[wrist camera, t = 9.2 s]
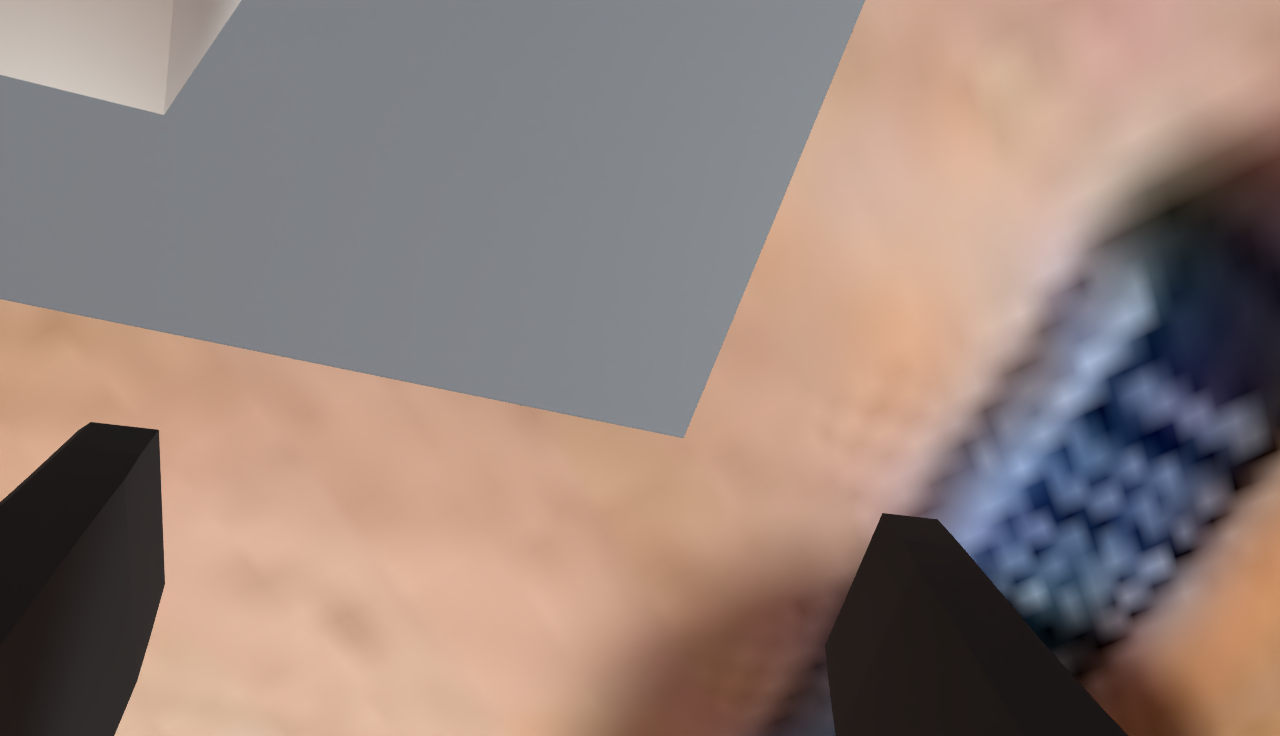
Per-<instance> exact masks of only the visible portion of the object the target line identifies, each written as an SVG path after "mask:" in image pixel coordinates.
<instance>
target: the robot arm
mask: <svg viewBox="0 0 1280 736" xmlns="http://www.w3.org/2000/svg"><path fill="white" fill-rule="evenodd" d="M164 585H165V574H164V549H163V524H162V499H161V474H160V448H159V430H154V429H146V428H137V427H128V426H120V425H111V424H102V423H94V422H90V423H89V424H87V425H86V426H84V427H83V428H81V429H80V430H78V431H77V432H76V433H75V434H74V435H73V436H72V437H71V438H70V439H69V440H68V441H66V442H65V443H64V444H63V445H62V446H61V447H60V448H59V449H58V450H57V451H56V452H55V453H54V454H53V455H51V456H50V457H49V458H48V459H47V460H46V461H45V462H44V463H43V464H42V465H41V466H40V467H39V468H37V469H36V470H35V471H34V472H33V473H32V474H31V475H30V476H29V477H28V478H27V479H26V480H24V481H23V482H22V483H21V484H20V485H19V486H18V487H17V488H16V489H15V490H13V491H12V492H11V493H10V494H9V495H8V496H7V497H6V498H4V499H3V500H2V501H1V502H0V736H114V735H115V732H116V730H117V728H118V725H119V723H120V720H121V718H122V716H123V713H124V711H125V709H126V706H127V704H128V701H129V699H130V697H131V694H132V692H133V689H134V687H135V684H136V682H137V679H138V676H139V672H140V669H141V666H142V662H143V659H144V656H145V652H146V649H147V646H148V642H149V639H150V635H151V632H152V628H153V625H154V621H155V617H156V614H157V610H158V607H159V603H160V599H161V596H162V592H163V589H164ZM825 648H826V657H827V667H828V677H829V686H830V696H831V703H832V711H833V718H834V726H835V733H836V736H1128V735H1127V734H1126V733H1125V732H1124V731H1123V730H1122V728H1121V727H1120V726H1119V725H1118V724H1117V723H1116V722H1115V721H1114V720H1113V719H1112V718H1111V717H1110V716H1109V715H1108V714H1107V713H1106V712H1105V711H1104V710H1103V709H1102V707H1101V706H1100V705H1099V704H1098V703H1097V702H1096V701H1095V700H1094V699H1093V698H1092V697H1091V696H1090V694H1089V693H1088V692H1087V691H1086V690H1085V689H1084V688H1083V687H1082V686H1081V685H1080V684H1079V682H1078V681H1077V680H1076V679H1075V678H1074V677H1073V676H1072V675H1071V673H1070V672H1069V671H1068V670H1067V669H1066V668H1065V667H1064V666H1063V664H1062V663H1061V662H1060V661H1059V660H1058V659H1057V658H1056V657H1055V655H1054V654H1053V653H1052V652H1051V651H1050V650H1049V649H1048V647H1047V646H1046V645H1045V644H1044V643H1043V642H1042V640H1041V639H1040V638H1039V637H1038V636H1037V635H1036V634H1035V632H1034V631H1033V630H1032V629H1031V628H1030V627H1029V625H1028V624H1027V623H1026V622H1025V621H1024V620H1023V618H1022V617H1021V616H1020V615H1019V614H1018V612H1017V611H1016V610H1015V609H1014V608H1013V607H1012V605H1011V604H1010V603H1009V602H1008V601H1007V599H1006V598H1005V597H1004V596H1003V595H1002V594H1001V592H1000V591H999V590H998V589H997V588H996V586H995V585H994V584H993V583H992V582H991V581H990V579H989V578H988V577H987V576H986V575H985V573H984V572H983V571H982V570H981V569H980V567H979V566H978V565H977V564H976V563H975V562H974V560H973V559H972V558H971V557H970V556H969V554H968V553H967V552H966V551H965V550H964V549H963V547H962V546H961V545H960V544H959V543H958V542H957V541H956V539H955V538H954V537H953V536H952V535H951V534H950V533H949V532H948V530H947V529H946V528H945V527H944V526H943V525H942V524H941V523H940V522H939V521H938V520H937V519H928V518H920V517H911V516H902V515H894V514H885V513H882V516H881V518H880V520H879V523H878V525H877V527H876V530H875V532H874V534H873V537H872V539H871V541H870V544H869V546H868V548H867V550H866V553H865V555H864V557H863V560H862V562H861V564H860V567H859V569H858V571H857V574H856V576H855V578H854V581H853V583H852V585H851V588H850V590H849V592H848V595H847V597H846V599H845V601H844V604H843V606H842V608H841V611H840V613H839V615H838V618H837V620H836V622H835V625H834V627H833V629H832V632H831V634H830V636H829V639H828V641H827V643H826V646H825Z"/></svg>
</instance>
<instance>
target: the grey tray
mask: <svg viewBox="0 0 1280 736" xmlns="http://www.w3.org/2000/svg"><path fill="white" fill-rule="evenodd" d="M864 2H865V0H241V2H240V3H239V5H238V6H237V8H236V9H235V11H234V12H233V13H232V15H231V16H230V18H229V19H228V21H227V22H226V24H225V25H224V27H223V28H222V30H221V31H220V33H219V34H218V36H217V37H216V39H215V40H214V42H213V43H212V45H211V46H210V47H209V49H208V50H207V52H206V53H205V55H204V56H203V58H202V59H201V61H200V62H199V64H198V65H197V67H196V68H195V70H194V71H193V73H192V74H191V76H190V77H189V79H188V80H187V81H186V83H185V84H184V86H183V87H182V89H181V90H180V92H179V93H178V95H177V96H176V98H175V99H174V101H173V102H172V104H171V105H170V107H169V108H168V110H167V111H166V113H165V114H164V115H162V114H158V113H154V112H150V111H146V110H142V109H137V108H133V107H129V106H125V105H121V104H117V103H113V102H109V101H105V100H101V99H97V98H93V97H89V96H85V95H80V94H76V93H72V92H68V91H64V90H60V89H56V88H52V87H48V86H44V85H40V84H36V83H32V82H28V81H23V80H19V79H15V78H11V77H7V76H3V75H0V299H3V300H8V301H12V302H17V303H22V304H27V305H32V306H37V307H42V308H47V309H52V310H57V311H62V312H66V313H71V314H76V315H81V316H86V317H91V318H96V319H101V320H106V321H111V322H116V323H120V324H125V325H130V326H135V327H140V328H145V329H150V330H155V331H160V332H165V333H170V334H174V335H179V336H184V337H189V338H194V339H199V340H204V341H209V342H214V343H219V344H224V345H228V346H233V347H238V348H243V349H248V350H253V351H258V352H263V353H268V354H273V355H278V356H282V357H287V358H292V359H297V360H302V361H307V362H312V363H317V364H322V365H327V366H332V367H336V368H341V369H346V370H351V371H356V372H361V373H366V374H371V375H376V376H381V377H386V378H390V379H395V380H400V381H405V382H410V383H415V384H420V385H425V386H430V387H435V388H440V389H444V390H449V391H454V392H459V393H464V394H469V395H474V396H479V397H484V398H489V399H494V400H499V401H503V402H508V403H513V404H518V405H523V406H528V407H533V408H538V409H543V410H548V411H553V412H557V413H562V414H567V415H572V416H577V417H582V418H587V419H592V420H597V421H602V422H607V423H611V424H616V425H621V426H626V427H631V428H636V429H641V430H646V431H651V432H656V433H661V434H665V435H670V436H675V437H680V438H684V436H685V433H686V431H687V428H688V426H689V423H690V421H691V419H692V416H693V414H694V411H695V409H696V407H697V404H698V402H699V399H700V397H701V395H702V392H703V390H704V387H705V385H706V382H707V380H708V378H709V375H710V373H711V370H712V368H713V366H714V363H715V361H716V358H717V356H718V354H719V351H720V349H721V346H722V344H723V342H724V339H725V337H726V334H727V332H728V329H729V327H730V325H731V322H732V320H733V317H734V315H735V313H736V310H737V308H738V305H739V303H740V301H741V298H742V296H743V293H744V291H745V288H746V286H747V284H748V281H749V279H750V276H751V274H752V272H753V269H754V267H755V264H756V262H757V260H758V257H759V255H760V252H761V250H762V248H763V245H764V243H765V240H766V238H767V235H768V233H769V231H770V228H771V226H772V223H773V221H774V219H775V216H776V214H777V211H778V209H779V207H780V204H781V202H782V199H783V197H784V195H785V192H786V190H787V187H788V185H789V182H790V180H791V178H792V175H793V173H794V170H795V168H796V166H797V163H798V161H799V158H800V156H801V154H802V151H803V149H804V146H805V144H806V141H807V139H808V137H809V134H810V132H811V129H812V127H813V125H814V122H815V120H816V117H817V115H818V113H819V110H820V108H821V105H822V103H823V101H824V98H825V96H826V93H827V91H828V88H829V86H830V84H831V81H832V79H833V76H834V74H835V72H836V69H837V67H838V64H839V62H840V60H841V57H842V55H843V52H844V50H845V47H846V45H847V43H848V40H849V38H850V35H851V33H852V31H853V28H854V26H855V23H856V21H857V19H858V16H859V14H860V11H861V9H862V7H863V4H864Z"/></svg>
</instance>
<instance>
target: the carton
mask: <svg viewBox="0 0 1280 736" xmlns="http://www.w3.org/2000/svg"><path fill="white" fill-rule="evenodd" d="M240 2H241V0H0V75H3V76H7V77H11V78H15V79H19V80H23V81H28V82H32V83H36V84H40V85H44V86H48V87H52V88H56V89H60V90H64V91H68V92H72V93H76V94H80V95H85V96H89V97H93V98H97V99H101V100H105V101H109V102H113V103H117V104H121V105H125V106H129V107H133V108H137V109H142V110H146V111H150V112H154V113H158V114H162V115H164V114H165V113H166V111H167V110H168V108H169V107H170V105H171V104H172V102H173V101H174V99H175V98H176V96H177V95H178V93H179V92H180V90H181V89H182V87H183V86H184V84H185V83H186V81H187V80H188V79H189V77H190V76H191V74H192V73H193V71H194V70H195V68H196V67H197V65H198V64H199V62H200V61H201V59H202V58H203V56H204V55H205V53H206V52H207V50H208V49H209V47H210V46H211V45H212V43H213V42H214V40H215V39H216V37H217V36H218V34H219V33H220V31H221V30H222V28H223V27H224V25H225V24H226V22H227V21H228V19H229V18H230V16H231V15H232V13H233V12H234V11H235V9H236V8H237V6H238V5H239V3H240Z"/></svg>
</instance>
